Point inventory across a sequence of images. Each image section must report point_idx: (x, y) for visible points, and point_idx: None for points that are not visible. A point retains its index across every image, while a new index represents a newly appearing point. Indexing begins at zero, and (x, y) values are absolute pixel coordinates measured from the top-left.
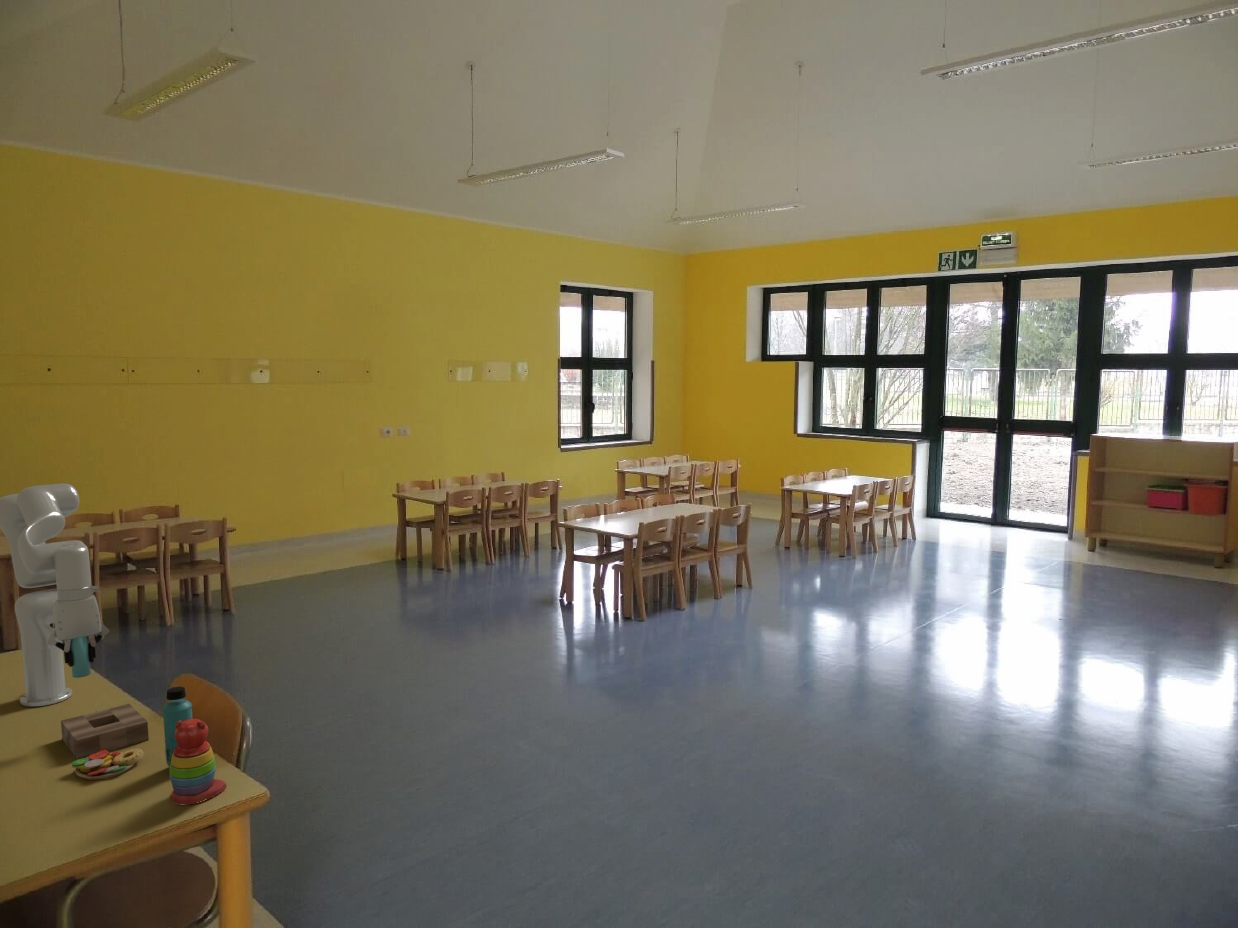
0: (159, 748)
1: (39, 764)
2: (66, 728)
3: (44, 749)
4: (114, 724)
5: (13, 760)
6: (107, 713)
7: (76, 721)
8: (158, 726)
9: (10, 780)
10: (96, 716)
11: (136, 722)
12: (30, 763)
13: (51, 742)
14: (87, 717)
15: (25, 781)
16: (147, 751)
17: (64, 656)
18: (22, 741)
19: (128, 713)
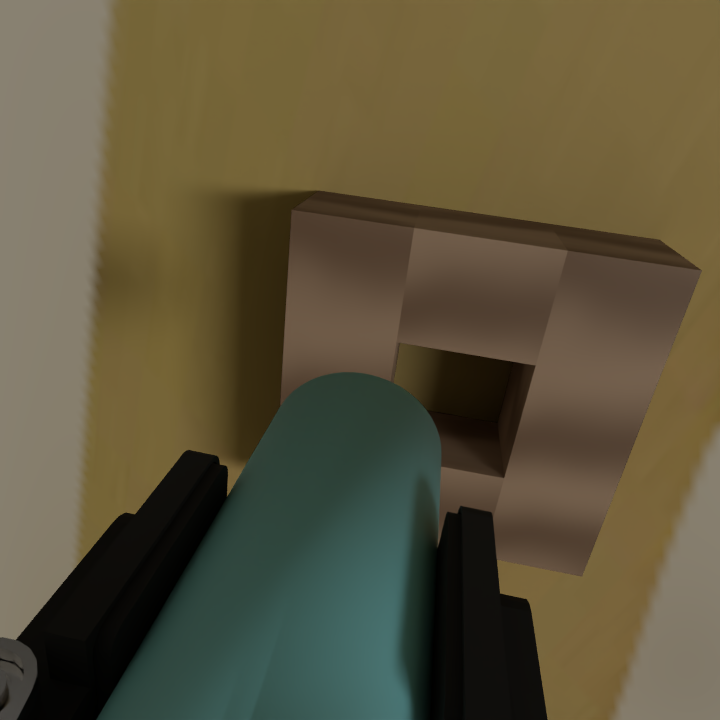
0: (542, 598)
1: (181, 389)
2: (284, 343)
3: (225, 253)
4: (464, 490)
5: (105, 267)
6: (520, 321)
7: (350, 299)
8: (689, 418)
9: (84, 436)
10: (457, 315)
11: (543, 548)
12: (155, 352)
13: (268, 191)
14: (416, 289)
15: (123, 480)
16: (500, 587)
17: (74, 585)
18: (162, 45)
19: (591, 417)
